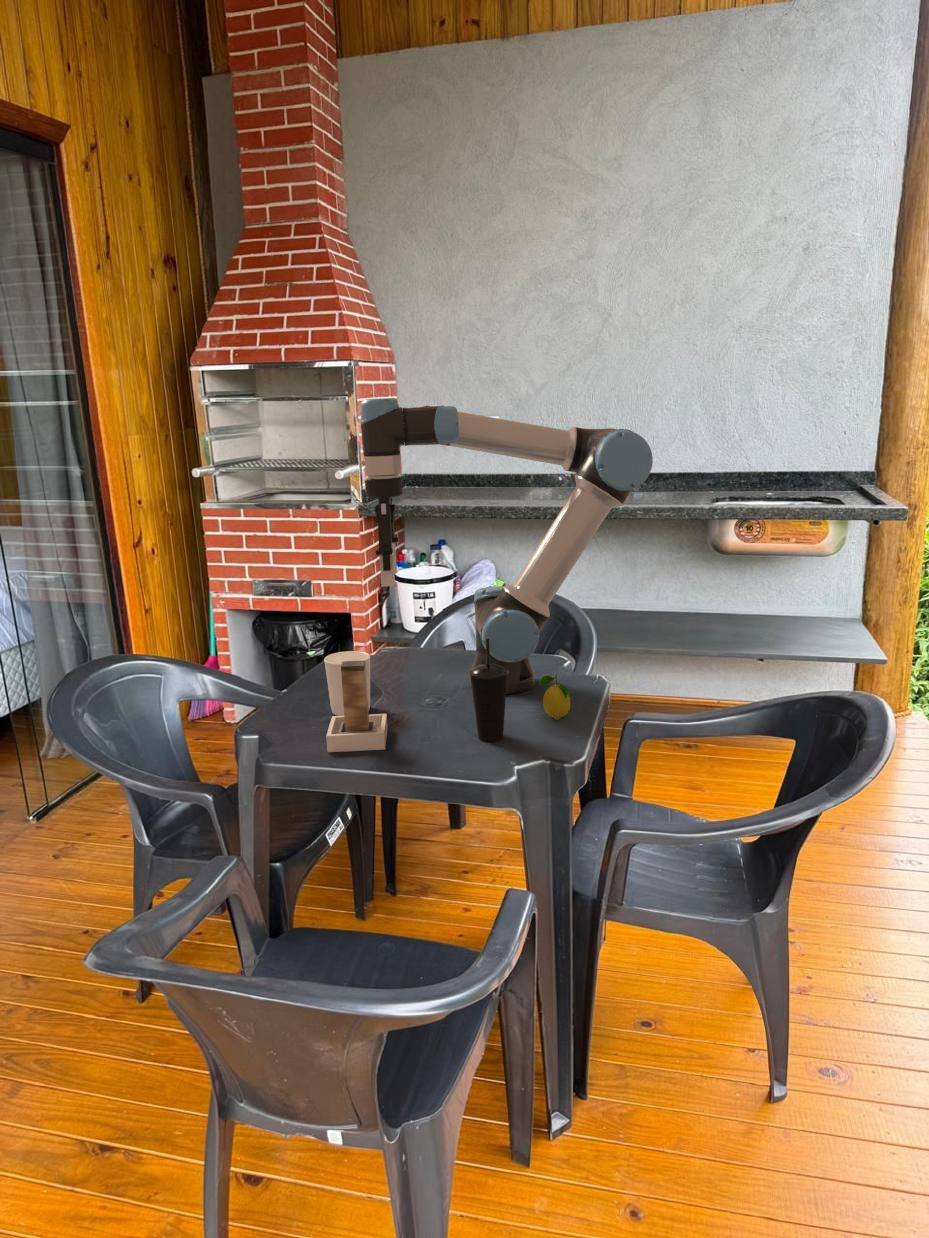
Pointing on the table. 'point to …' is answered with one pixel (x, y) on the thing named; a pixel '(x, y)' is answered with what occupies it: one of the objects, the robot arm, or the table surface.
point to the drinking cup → (489, 698)
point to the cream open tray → (357, 735)
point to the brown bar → (355, 696)
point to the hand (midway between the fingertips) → (389, 579)
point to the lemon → (555, 698)
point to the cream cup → (335, 678)
